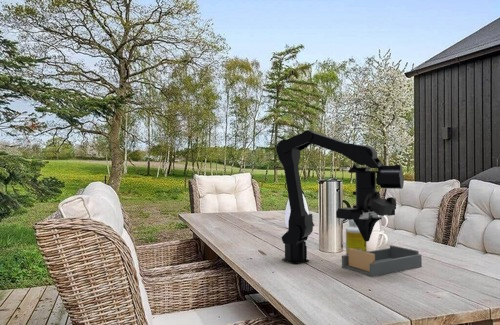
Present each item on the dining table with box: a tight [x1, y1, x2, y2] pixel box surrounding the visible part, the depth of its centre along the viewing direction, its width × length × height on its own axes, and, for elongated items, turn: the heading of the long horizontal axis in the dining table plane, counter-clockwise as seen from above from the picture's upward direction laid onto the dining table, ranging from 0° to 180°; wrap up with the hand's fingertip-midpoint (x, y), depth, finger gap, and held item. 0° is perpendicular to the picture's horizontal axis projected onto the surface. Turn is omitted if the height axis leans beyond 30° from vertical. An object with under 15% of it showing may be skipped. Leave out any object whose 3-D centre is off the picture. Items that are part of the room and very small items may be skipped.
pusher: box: [348, 248, 375, 272], centre depth 114 cm, size 1×9×5 cm, turn 30°
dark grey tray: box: [341, 244, 423, 278], centre depth 118 cm, size 21×12×5 cm, turn 120°
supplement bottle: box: [345, 220, 367, 255], centre depth 131 cm, size 7×7×13 cm
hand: (366, 241), depth 115 cm, fingers closed
